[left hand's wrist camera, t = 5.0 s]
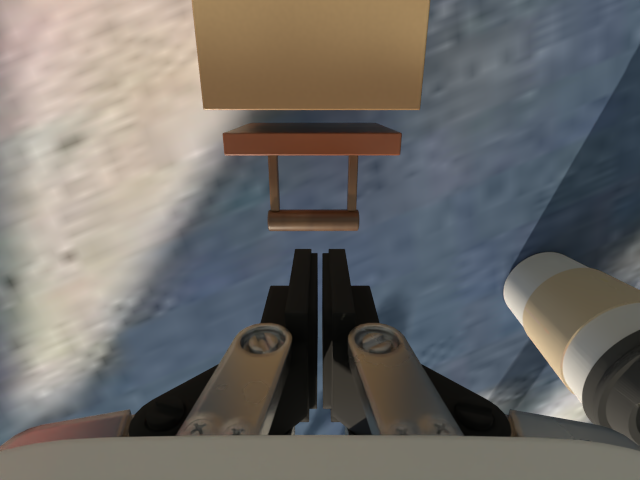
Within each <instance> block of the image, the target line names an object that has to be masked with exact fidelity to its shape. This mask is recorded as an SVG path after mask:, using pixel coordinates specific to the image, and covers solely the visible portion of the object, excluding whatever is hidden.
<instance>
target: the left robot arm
mask: <svg viewBox="0 0 640 480" xmlns="http://www.w3.org/2000/svg"><path fill="white" fill-rule="evenodd" d="M317 344H318V268H317V253H311V249H295V253H294V259H293V265H292V271H291V277H290V283H289V286H270V289H269V293H268V297H267V301H266V305H265V308H264V312H263V316H262V320H261V323H260V324H254V325H252V326H249V327H246V328H245V329H243V330H242V331H240V332H239V333H238V334H237V336H236V337H235V338H234V340H233V342H232V343H231V345H230V347H229V348H228V350H227V352H226V353H225V355H224V357H223V358H222V360H221V362H220V363H219V364H218V365H216V366H214V367H212V368H211V369H209V370H207V371H205V372H203V373H201V374H199V375H198V376H196V377H194V378H192V379H190V380H188V381H187V382H185V383H183V384H181V385H179V386H177V387H175V388H174V389H172V390H170V391H168V392H166V393H164V394H162V395H161V396H159V397H157V398H155V399H153V400H152V401H150V402H149V403H147V404H146V405H144V406H143V407H142V408H141V409H140V410H139V411H138V412H137V413H136V414H135V415H131V411H130V409H129V410H124V411H118V412H112V413H107V414H101V415H95V416H90V417H84V418H79V419H73V420H67V421H62V422H56V423H50V424H45V425H40V426H36V427H33V428H30V429H27V430H25V431H23V432H21V433H19V434H17V435H15V436H13V437H12V438H11V439H9V440H8V441H7V442H5V443H4V444H3V445H2V446H1V447H0V480H640V447H639V446H638V445H637V444H636V443H635V442H633V441H632V440H631V439H629V438H628V437H627V436H625V435H623V434H621V433H619V432H617V431H615V430H613V429H610V428H607V427H604V426H600V425H595V424H590V423H584V422H578V421H573V420H567V419H561V418H556V417H550V416H545V415H539V414H533V413H528V412H522V411H516V410H511V409H510V411H509V415H505V414H504V413H503V412H502V411H501V410H500V409H499V408H498V407H497V406H496V405H494V404H493V403H491V402H490V401H488V400H487V399H485V398H483V397H481V396H479V395H478V394H476V393H474V392H472V391H470V390H468V389H466V388H465V387H463V386H461V385H459V384H457V383H455V382H453V381H452V380H450V379H448V378H446V377H444V376H442V375H441V374H439V373H437V372H435V371H433V370H431V369H429V368H428V367H426V366H424V365H422V364H421V363H420V362H419V360H418V358H417V357H416V355H415V353H414V352H413V350H412V348H411V347H410V345H409V343H408V342H407V340H406V338H405V337H404V336H403V334H402V333H401V332H400V331H398V330H397V329H395V328H394V327H391V326H388V325H386V324H380V323H379V320H378V316H377V312H376V308H375V305H374V301H373V297H372V293H371V289H370V286H351V283H350V277H349V271H348V265H347V259H346V253H345V249H329V253H323V268H322V344H323V409H331V422H341V423H342V424H343V425H345V435H295V425H297V424H298V423H299V422H309V409H317Z"/></svg>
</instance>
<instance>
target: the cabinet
mask: <svg viewBox="0 0 640 480" xmlns="http://www.w3.org/2000/svg"><path fill="white" fill-rule="evenodd" d="M192 8H193V17H194V26H195V35H196V45H197V54H198V63H199V72H200V81H201V91H202V100H203V109H204V110H420V103H421V93H422V82H423V71H424V61H425V50H426V40H427V29H428V18H429V8H430V0H192Z"/></svg>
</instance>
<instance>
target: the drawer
mask: <svg viewBox="0 0 640 480" xmlns="http://www.w3.org/2000/svg"><path fill="white" fill-rule="evenodd" d="M401 137H402V134H401V133H400V132H397V131H395V130H392V129H390V128H387V127H385V126H382V125H380V124H377V123H250V124H247V125H244V126H241V127H239V128H236V129H233V130H230V131H228V132H225V133H223V143H224V154H225V155H268V165H269V185H270V205H271V210H269V211H268V229H269V231H357V230H358V229H359V211H358V210H356V200H357V174H358V155H400V150H401ZM278 155H349V159H348V194H347V209H348V210H280V198H279V173H278Z"/></svg>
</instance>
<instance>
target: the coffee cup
mask: <svg viewBox="0 0 640 480" xmlns="http://www.w3.org/2000/svg"><path fill="white" fill-rule="evenodd" d="M504 299H505V302H506V304H507V306H508V307H509V308H510V310H511V311H512V312H513V314H514V315H515V316H516V317H517V319H518V320H519V321H520V323H521V324H522V325H523V327H524V329H525V331H526V333H527V335H528V336H529V337H530V339H531V340H532V341H533V343H534V344H535V345H536V347H537V348H538V350H539V351H540V352H541V354H542V355H543V356H544V358H545V359H546V360H547V362H548V363H549V364H550V366H551V367H552V368H553V370H554V371H555V372H556V374H557V375H558V376H559V378H560V379H561V380H562V382H563V383H564V384H565V386H566V387H567V388H568V389H569V390H570V391H571V392H572V393H573V394H574V395H576V397H577V398H578V399H579V401H580V402H581V403H582V404H583V408H584V411H585V413H586V415H587V417H588V418H589V420H590V421H591V422H592V423H593V424H595V425H600V426H604V427H607V428H610V429H613V430H615V431H617V432H619V433H621V434H623V435H625V436H627V437H628V438H629V439H631V440H632V441H633V442H635V443H636V444H637V445H638V446H639V447H640V290H638V289H636V288H634V287H632V286H630V285H628V284H626V283H624V282H622V281H620V280H618V279H616V278H614V277H612V276H610V275H608V274H606V273H604V272H601V271H599V270H596V269H592V268H589V267H587V266H585V265H583V264H581V263H579V262H577V261H575V260H573V259H571V258H569V257H567V256H565V255H563V254H560V253H555V252H544V253H539V254H535V255H533V256H530V257H528V258H527V259H525V260H523V261H522V262H520V263H519V264H518V265H517V266H516V267H515V268H514V269H513V270H512V271H511V273H510V274H509V276H508V277H507V280H506V282H505V285H504Z"/></svg>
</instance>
